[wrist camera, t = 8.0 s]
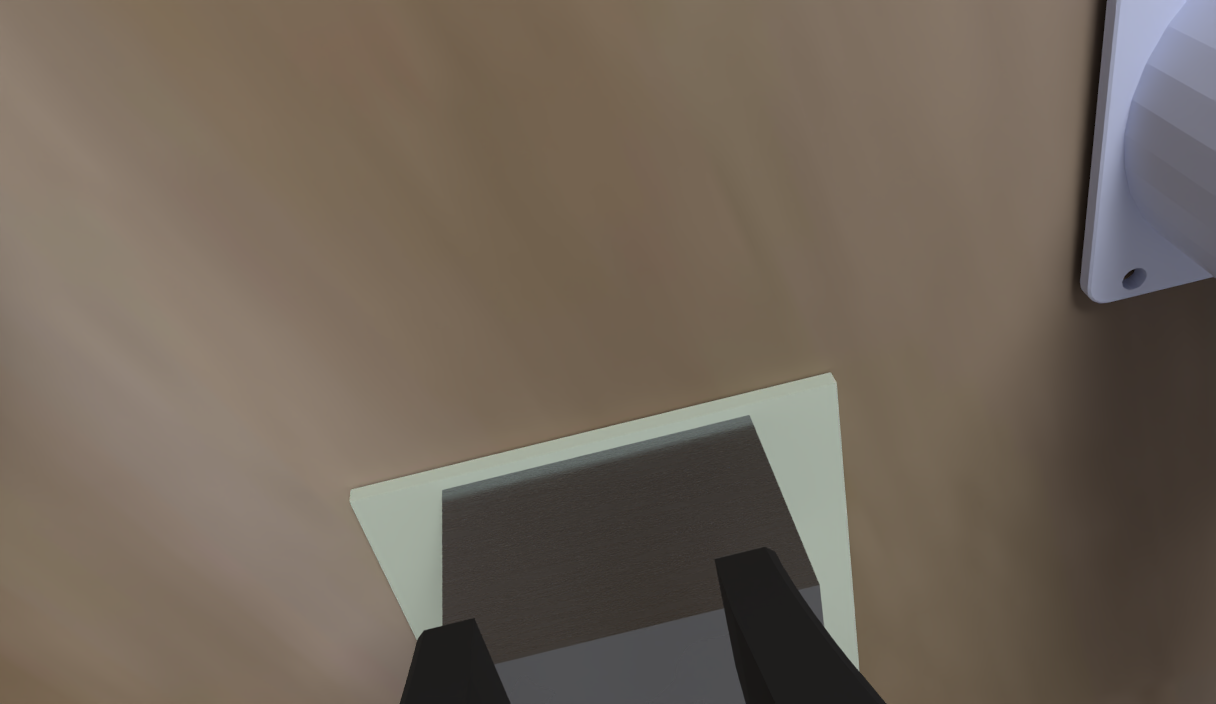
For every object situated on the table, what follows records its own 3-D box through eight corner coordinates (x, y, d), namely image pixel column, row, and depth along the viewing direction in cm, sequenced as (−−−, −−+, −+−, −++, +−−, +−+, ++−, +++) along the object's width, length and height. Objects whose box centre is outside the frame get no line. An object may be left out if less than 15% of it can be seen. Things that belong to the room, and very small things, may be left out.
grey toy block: (749, 414, 22) (819, 585, 18) (768, 538, 24) (833, 714, 20) (442, 489, 22) (442, 677, 18) (489, 606, 24) (499, 795, 20)
